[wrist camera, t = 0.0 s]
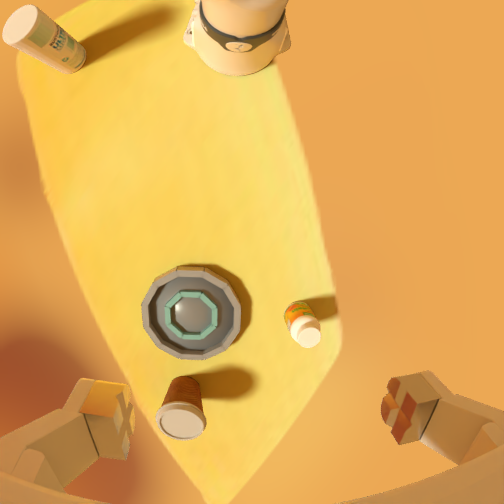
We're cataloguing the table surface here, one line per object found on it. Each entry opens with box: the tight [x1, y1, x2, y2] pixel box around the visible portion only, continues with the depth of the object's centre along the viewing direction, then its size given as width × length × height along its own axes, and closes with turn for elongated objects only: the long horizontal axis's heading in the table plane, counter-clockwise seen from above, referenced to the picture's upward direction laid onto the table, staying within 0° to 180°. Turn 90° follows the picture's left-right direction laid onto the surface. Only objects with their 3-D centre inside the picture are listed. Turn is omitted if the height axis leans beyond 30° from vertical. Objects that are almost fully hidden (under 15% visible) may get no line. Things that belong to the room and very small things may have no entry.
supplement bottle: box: [284, 302, 321, 348], centre depth 57 cm, size 5×5×10 cm
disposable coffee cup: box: [156, 376, 206, 440], centre depth 58 cm, size 10×10×12 cm
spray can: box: [3, 5, 86, 74], centre depth 35 cm, size 6×6×20 cm
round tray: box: [141, 266, 241, 360], centre depth 58 cm, size 18×18×2 cm
